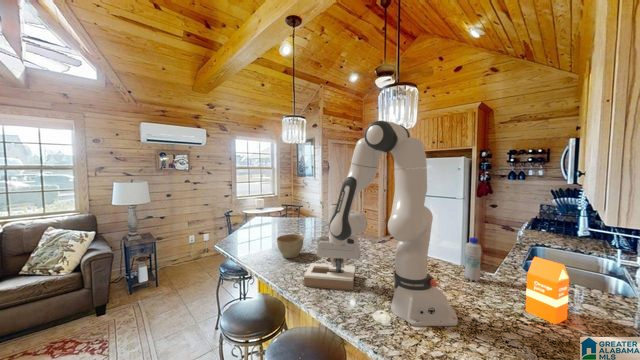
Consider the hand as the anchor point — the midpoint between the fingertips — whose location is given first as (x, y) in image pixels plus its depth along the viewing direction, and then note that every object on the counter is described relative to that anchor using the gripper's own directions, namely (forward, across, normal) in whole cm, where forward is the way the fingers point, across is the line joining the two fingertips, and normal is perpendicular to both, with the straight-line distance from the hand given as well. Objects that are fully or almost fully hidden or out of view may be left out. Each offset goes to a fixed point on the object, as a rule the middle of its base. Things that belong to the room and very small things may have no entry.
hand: (338, 266), depth 117 cm
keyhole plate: (+7, -4, 0) cm, 8 cm away
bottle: (+7, +61, +13) cm, 63 cm away
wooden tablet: (+8, -1, +34) cm, 35 cm away
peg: (+6, 0, 0) cm, 6 cm away
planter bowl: (+7, -33, +28) cm, 44 cm away
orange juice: (+8, +76, -12) cm, 77 cm away
